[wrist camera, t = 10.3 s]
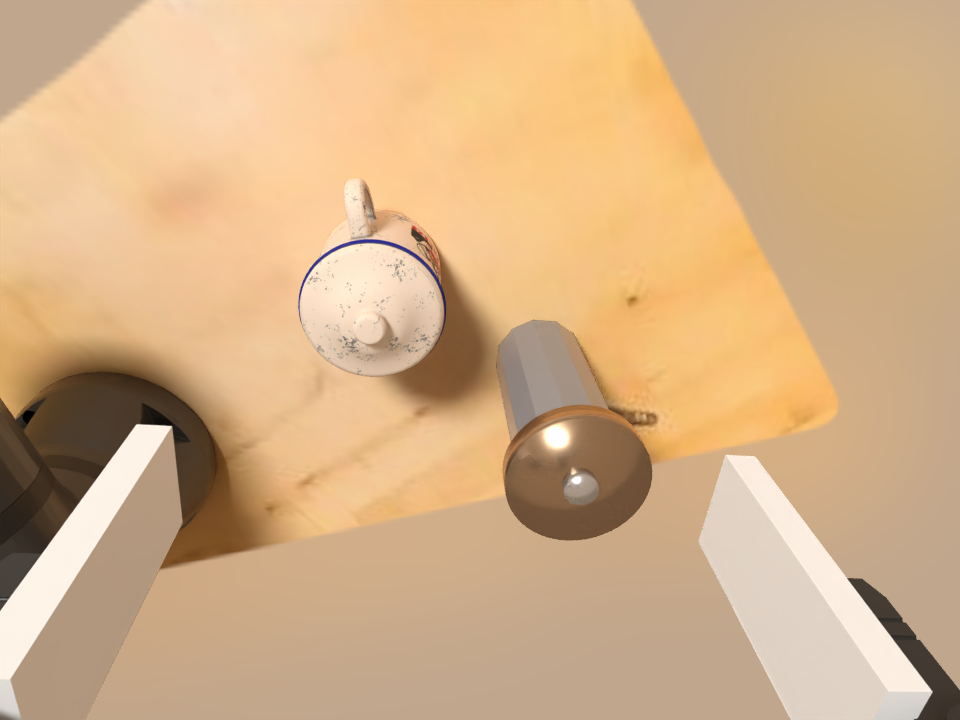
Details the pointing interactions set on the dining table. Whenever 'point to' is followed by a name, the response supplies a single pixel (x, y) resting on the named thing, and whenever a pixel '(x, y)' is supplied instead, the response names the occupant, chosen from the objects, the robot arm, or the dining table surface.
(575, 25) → the dining table surface
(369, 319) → the teacup with lid
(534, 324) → the cylinder
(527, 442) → the plunger
